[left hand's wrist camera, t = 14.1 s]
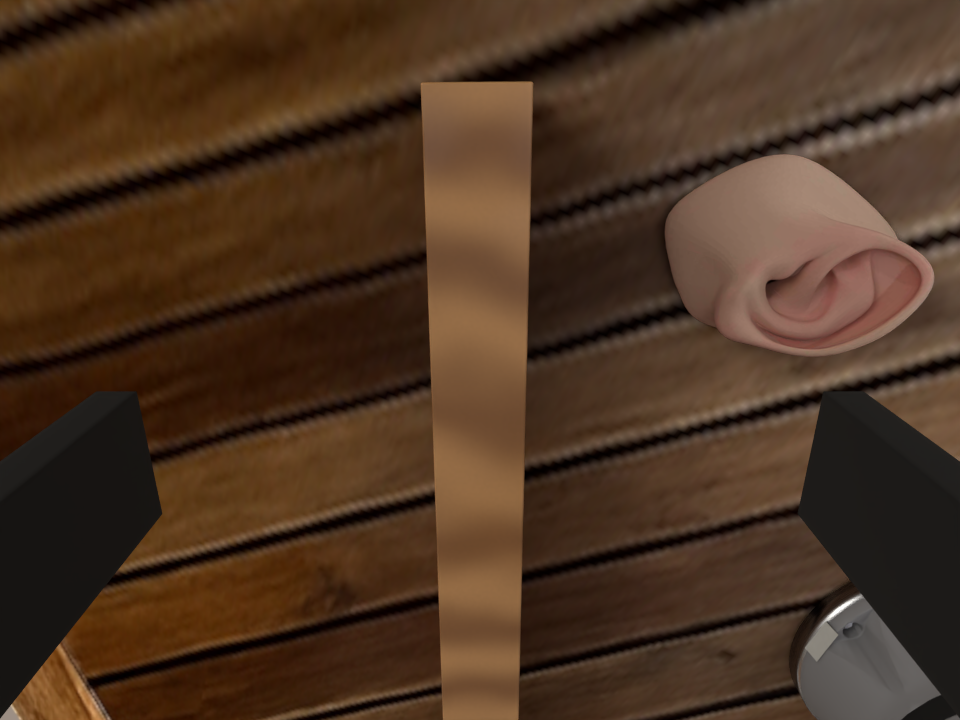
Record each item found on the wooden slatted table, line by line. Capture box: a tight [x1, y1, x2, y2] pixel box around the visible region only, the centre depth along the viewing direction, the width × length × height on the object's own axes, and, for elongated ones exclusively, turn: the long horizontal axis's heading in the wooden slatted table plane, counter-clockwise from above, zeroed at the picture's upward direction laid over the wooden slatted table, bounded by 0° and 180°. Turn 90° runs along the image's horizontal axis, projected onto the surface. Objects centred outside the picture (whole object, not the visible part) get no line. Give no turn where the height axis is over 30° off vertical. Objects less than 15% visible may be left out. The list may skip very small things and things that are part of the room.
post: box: [421, 82, 533, 720], centre depth 41 cm, size 56×5×9 cm, turn 0°
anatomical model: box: [665, 154, 934, 357], centre depth 36 cm, size 13×4×12 cm
